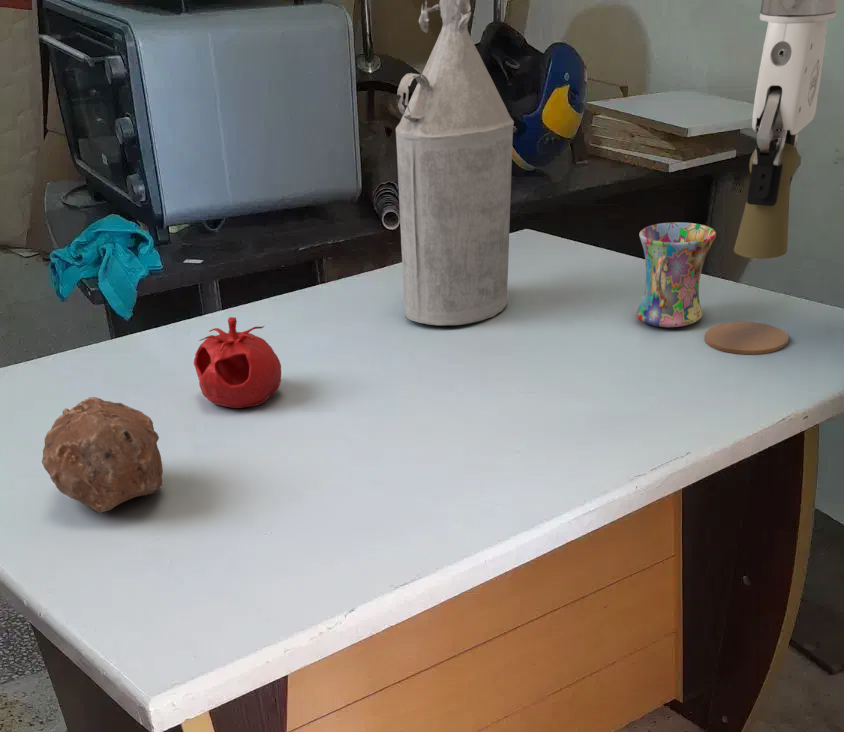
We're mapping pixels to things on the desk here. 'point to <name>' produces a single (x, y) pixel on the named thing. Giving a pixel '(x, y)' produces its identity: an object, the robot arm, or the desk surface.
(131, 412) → the decorative rock
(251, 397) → the hollow red tomato
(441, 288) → the canister
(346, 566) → the desk surface
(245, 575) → the desk surface
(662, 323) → the mug
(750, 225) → the pepper shaker
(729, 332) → the coaster
